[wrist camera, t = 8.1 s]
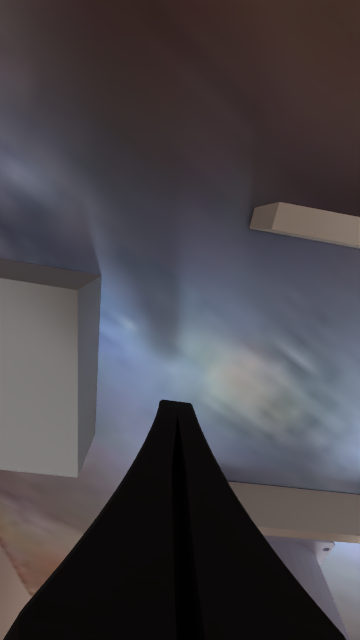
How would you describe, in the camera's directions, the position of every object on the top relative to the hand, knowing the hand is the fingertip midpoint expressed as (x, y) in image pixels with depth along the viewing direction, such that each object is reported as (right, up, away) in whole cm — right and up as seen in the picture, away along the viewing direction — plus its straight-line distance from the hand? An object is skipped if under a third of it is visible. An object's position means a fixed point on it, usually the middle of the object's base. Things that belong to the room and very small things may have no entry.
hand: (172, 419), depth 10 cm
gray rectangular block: (-8, +2, +2) cm, 8 cm away
